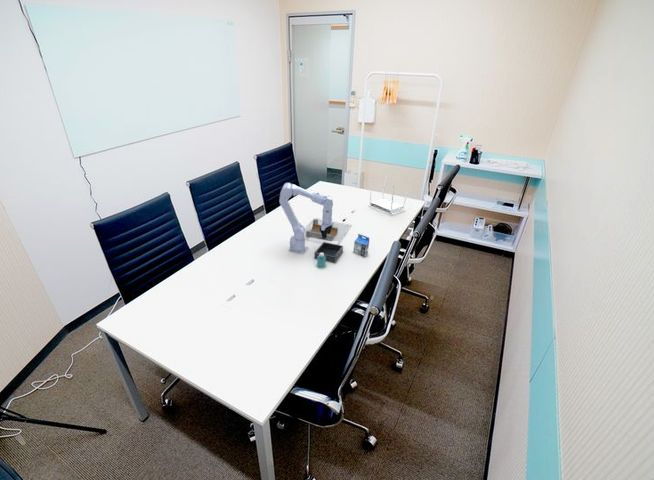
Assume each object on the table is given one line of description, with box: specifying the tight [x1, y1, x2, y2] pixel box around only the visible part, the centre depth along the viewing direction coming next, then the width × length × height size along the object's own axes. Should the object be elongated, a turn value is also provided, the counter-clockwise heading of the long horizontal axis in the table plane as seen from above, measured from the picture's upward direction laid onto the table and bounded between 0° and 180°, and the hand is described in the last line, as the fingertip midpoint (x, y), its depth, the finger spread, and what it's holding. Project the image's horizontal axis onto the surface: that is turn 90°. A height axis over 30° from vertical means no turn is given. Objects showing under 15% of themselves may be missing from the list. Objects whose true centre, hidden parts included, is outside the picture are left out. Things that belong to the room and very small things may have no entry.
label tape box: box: [352, 233, 370, 258], centre depth 211 cm, size 9×4×12 cm, turn 47°
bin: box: [313, 241, 344, 264], centre depth 211 cm, size 14×16×4 cm
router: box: [368, 174, 411, 217], centre depth 271 cm, size 19×25×24 cm
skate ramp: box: [304, 217, 351, 242], centre depth 239 cm, size 29×35×8 cm
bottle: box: [316, 253, 327, 269], centre depth 199 cm, size 5×5×9 cm
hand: (326, 236), depth 212 cm, fingers open, 7 cm apart
